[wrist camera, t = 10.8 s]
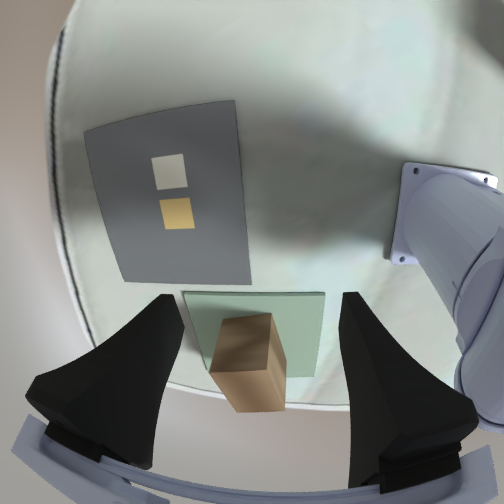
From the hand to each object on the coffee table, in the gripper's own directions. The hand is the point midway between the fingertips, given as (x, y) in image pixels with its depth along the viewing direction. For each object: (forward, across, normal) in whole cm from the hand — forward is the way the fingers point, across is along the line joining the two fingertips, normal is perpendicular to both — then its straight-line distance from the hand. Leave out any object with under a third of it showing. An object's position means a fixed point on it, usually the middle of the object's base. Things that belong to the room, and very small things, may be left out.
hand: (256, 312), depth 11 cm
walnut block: (+9, +2, +12) cm, 15 cm away
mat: (+9, +2, +12) cm, 16 cm away
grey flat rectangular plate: (+9, +8, -2) cm, 12 cm away
